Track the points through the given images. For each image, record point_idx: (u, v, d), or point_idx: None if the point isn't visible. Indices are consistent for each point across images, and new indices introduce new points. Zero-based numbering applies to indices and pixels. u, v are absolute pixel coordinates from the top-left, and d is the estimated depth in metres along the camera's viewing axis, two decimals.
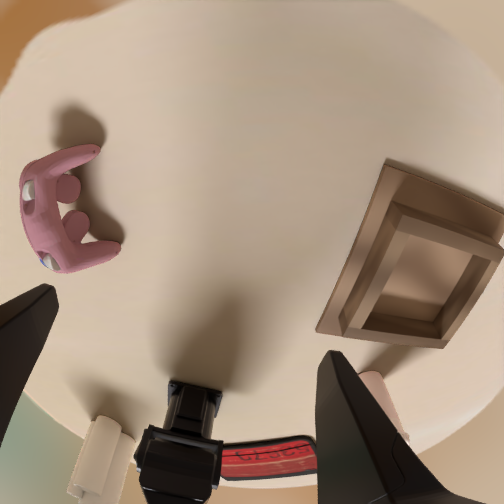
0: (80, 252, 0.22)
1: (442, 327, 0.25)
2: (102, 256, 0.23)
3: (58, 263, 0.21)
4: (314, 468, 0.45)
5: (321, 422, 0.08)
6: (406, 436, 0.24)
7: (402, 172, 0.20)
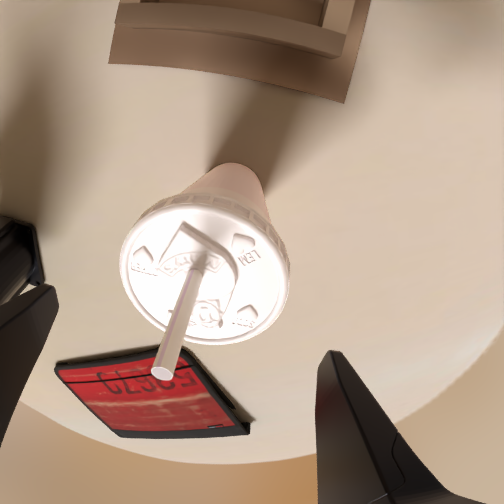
0: None
1: (323, 16, 0.12)
2: None
3: None
4: (221, 425, 0.32)
5: (321, 422, 0.08)
6: (264, 227, 0.10)
7: None
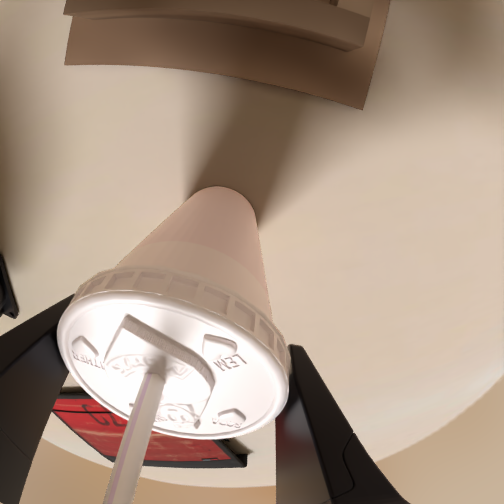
0: None
1: None
2: None
3: None
4: (216, 458, 0.28)
5: (279, 418, 0.08)
6: (251, 319, 0.07)
7: None
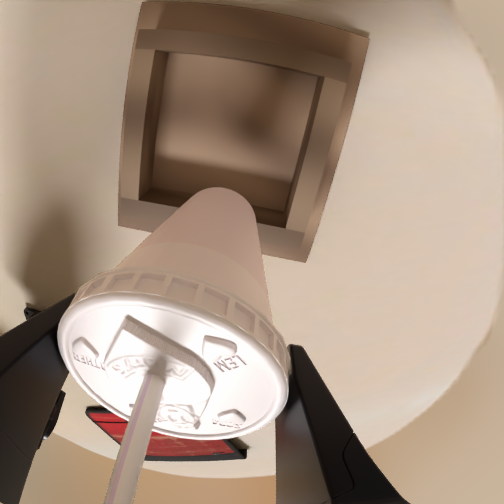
0: None
1: (288, 210, 0.19)
2: None
3: None
4: (223, 452, 0.39)
5: (279, 418, 0.08)
6: (251, 320, 0.07)
7: (163, 2, 0.14)
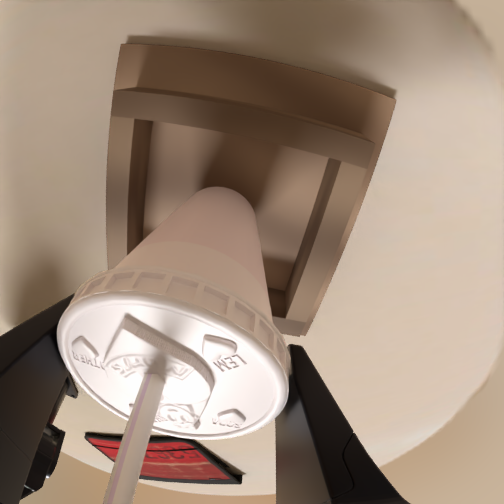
0: None
1: (289, 298, 0.17)
2: None
3: None
4: (219, 478, 0.38)
5: (279, 418, 0.08)
6: (251, 319, 0.07)
7: (145, 45, 0.12)
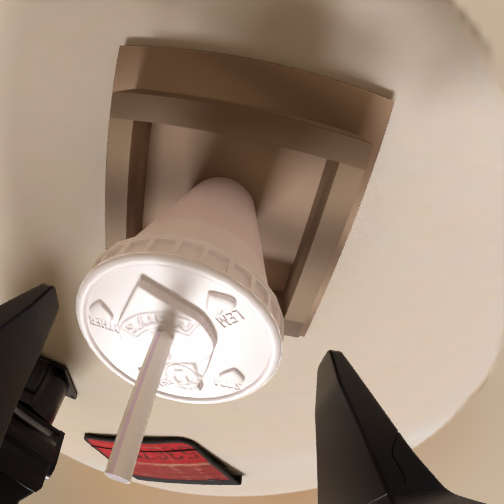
0: None
1: (287, 299, 0.18)
2: None
3: None
4: (219, 479, 0.38)
5: (321, 422, 0.08)
6: (248, 279, 0.08)
7: (144, 47, 0.12)
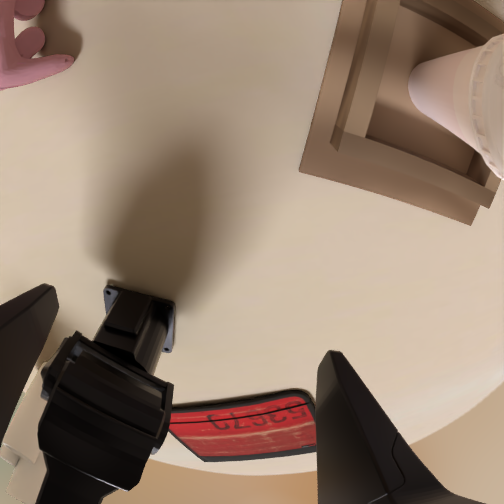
0: (24, 59, 0.13)
1: (482, 171, 0.16)
2: (48, 60, 0.14)
3: None
4: (314, 444, 0.36)
5: (321, 422, 0.08)
6: None
7: None
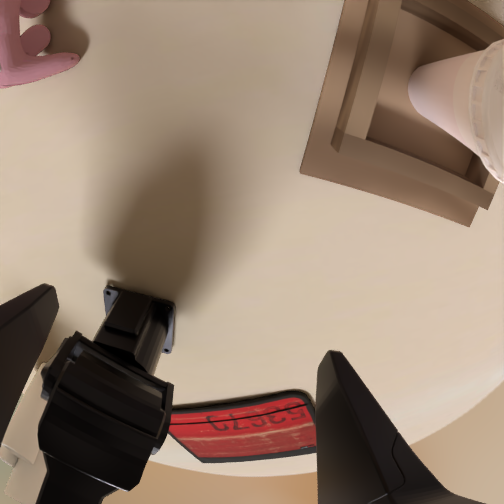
0: (30, 57, 0.13)
1: (481, 173, 0.16)
2: (53, 58, 0.14)
3: (0, 60, 0.11)
4: (313, 445, 0.36)
5: (321, 422, 0.08)
6: None
7: None
